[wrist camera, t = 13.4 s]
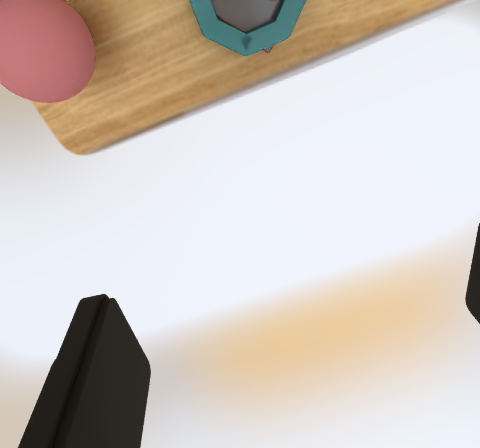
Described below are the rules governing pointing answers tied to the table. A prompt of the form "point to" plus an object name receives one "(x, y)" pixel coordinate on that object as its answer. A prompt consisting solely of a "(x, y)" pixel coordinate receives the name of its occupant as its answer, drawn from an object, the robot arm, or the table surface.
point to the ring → (253, 38)
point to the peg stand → (246, 13)
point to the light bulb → (44, 50)
